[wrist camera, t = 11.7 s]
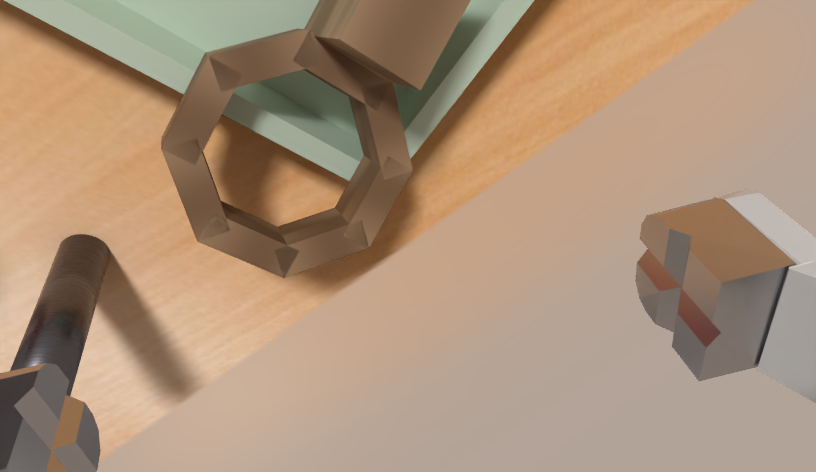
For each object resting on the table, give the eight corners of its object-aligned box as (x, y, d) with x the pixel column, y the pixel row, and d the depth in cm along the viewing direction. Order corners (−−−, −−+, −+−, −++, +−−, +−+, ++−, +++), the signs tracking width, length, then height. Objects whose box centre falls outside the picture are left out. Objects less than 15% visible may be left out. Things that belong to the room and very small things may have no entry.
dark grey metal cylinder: (98, 277, 31) (47, 450, 23) (51, 260, 30) (-19, 436, 22) (117, 245, 30) (71, 414, 23) (69, 227, 29) (3, 397, 21)
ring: (131, 195, 24) (121, 246, 18) (301, -136, 22) (343, -184, 17) (325, 279, 28) (364, 342, 22) (481, 0, 26) (563, -5, 21)
